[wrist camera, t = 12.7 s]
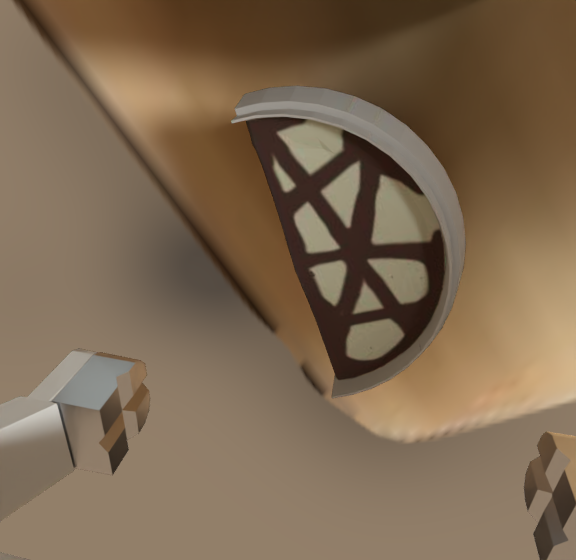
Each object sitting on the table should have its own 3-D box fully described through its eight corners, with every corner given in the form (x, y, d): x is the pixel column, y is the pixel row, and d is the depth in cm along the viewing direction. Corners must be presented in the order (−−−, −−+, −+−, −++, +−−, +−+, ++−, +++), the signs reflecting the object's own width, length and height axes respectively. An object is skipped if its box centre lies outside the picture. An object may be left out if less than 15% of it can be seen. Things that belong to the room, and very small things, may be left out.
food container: (470, 268, 26) (497, 393, 18) (359, 288, 28) (335, 408, 20) (423, 23, 21) (429, 32, 13) (294, 70, 23) (224, 103, 15)
